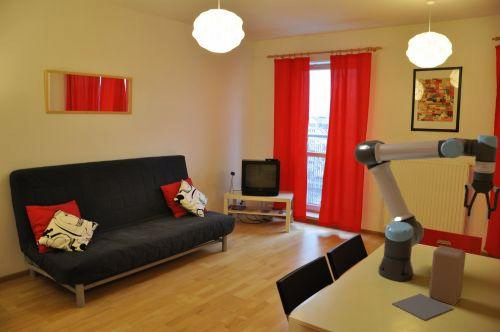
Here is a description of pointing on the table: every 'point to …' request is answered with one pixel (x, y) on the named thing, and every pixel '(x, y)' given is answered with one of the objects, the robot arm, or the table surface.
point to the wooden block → (447, 274)
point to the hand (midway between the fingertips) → (477, 224)
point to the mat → (422, 306)
